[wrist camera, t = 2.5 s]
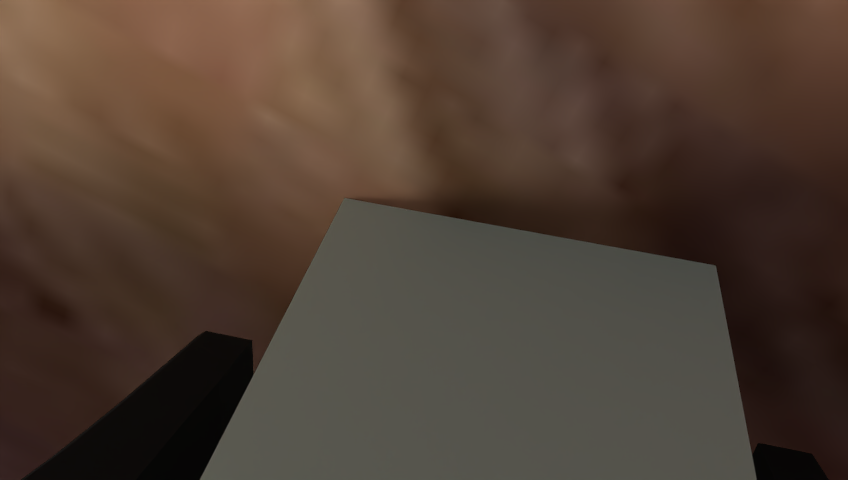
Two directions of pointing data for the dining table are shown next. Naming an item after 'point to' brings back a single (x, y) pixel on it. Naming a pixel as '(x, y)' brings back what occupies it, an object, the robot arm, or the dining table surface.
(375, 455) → the block
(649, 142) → the dining table surface
